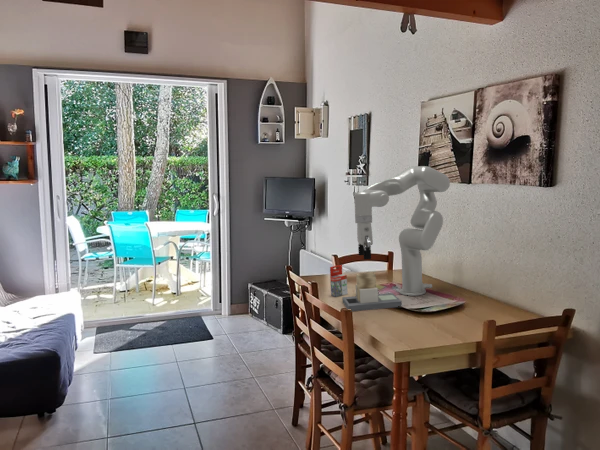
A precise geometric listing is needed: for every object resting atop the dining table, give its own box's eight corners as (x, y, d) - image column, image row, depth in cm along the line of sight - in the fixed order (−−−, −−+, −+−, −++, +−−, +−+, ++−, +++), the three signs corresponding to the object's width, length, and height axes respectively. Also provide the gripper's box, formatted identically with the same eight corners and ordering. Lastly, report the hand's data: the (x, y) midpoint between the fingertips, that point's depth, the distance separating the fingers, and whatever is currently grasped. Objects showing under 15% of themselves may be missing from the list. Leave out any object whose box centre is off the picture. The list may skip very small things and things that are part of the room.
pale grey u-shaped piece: (372, 296, 223) (372, 283, 222) (378, 301, 214) (377, 288, 213) (356, 297, 222) (355, 285, 222) (360, 303, 213) (360, 290, 212)
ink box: (348, 294, 238) (346, 265, 236) (335, 297, 234) (333, 268, 232) (343, 292, 241) (342, 264, 239) (330, 295, 237) (329, 267, 235)
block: (374, 297, 221) (373, 272, 219) (376, 300, 217) (375, 274, 215) (357, 299, 220) (356, 273, 218) (359, 301, 216) (358, 275, 214)
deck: (392, 298, 227) (392, 292, 227) (401, 306, 213) (401, 300, 213) (342, 302, 224) (342, 296, 224) (349, 311, 211) (348, 305, 210)
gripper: (377, 221, 205) (378, 260, 207) (367, 216, 222) (368, 253, 224) (359, 222, 204) (361, 261, 207) (351, 217, 221) (352, 254, 224)
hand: (364, 257), depth 215 cm, fingers open, 9 cm apart
